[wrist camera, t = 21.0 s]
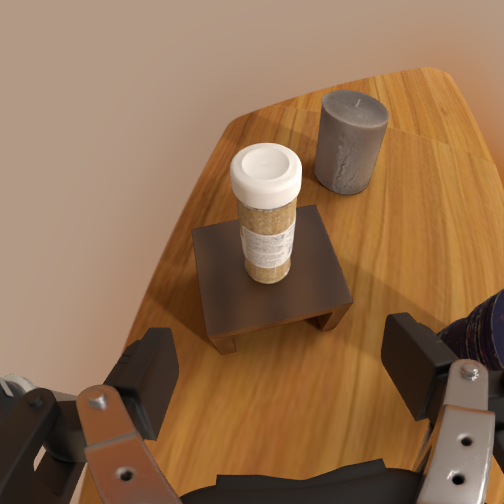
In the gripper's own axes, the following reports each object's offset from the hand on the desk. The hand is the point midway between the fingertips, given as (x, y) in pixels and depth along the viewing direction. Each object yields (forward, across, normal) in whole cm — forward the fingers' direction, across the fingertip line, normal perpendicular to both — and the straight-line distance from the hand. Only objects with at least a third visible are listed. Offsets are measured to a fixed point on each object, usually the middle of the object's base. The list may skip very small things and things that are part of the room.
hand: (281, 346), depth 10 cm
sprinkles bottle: (+19, 0, +3) cm, 19 cm away
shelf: (+26, 0, +9) cm, 27 cm away
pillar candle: (+40, -14, -5) cm, 43 cm away
